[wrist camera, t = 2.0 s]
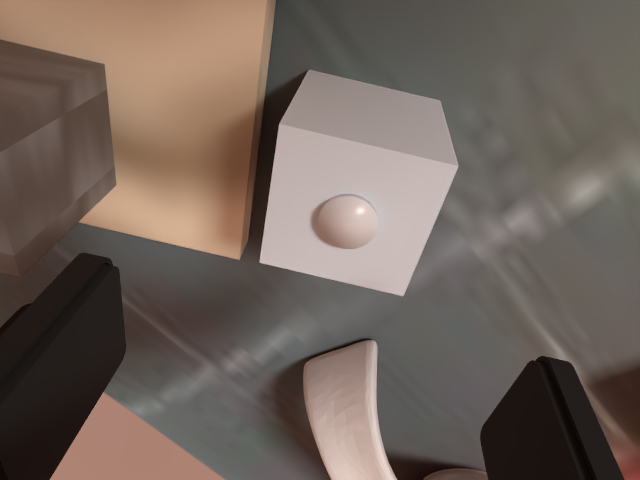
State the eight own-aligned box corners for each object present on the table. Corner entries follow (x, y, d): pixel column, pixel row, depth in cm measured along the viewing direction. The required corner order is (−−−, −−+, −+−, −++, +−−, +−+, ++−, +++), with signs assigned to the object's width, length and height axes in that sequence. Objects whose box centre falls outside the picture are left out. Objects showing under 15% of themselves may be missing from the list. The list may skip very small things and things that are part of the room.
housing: (309, 68, 16) (276, 127, 12) (439, 100, 16) (460, 171, 12) (289, 184, 19) (257, 268, 15) (400, 210, 19) (403, 302, 15)
